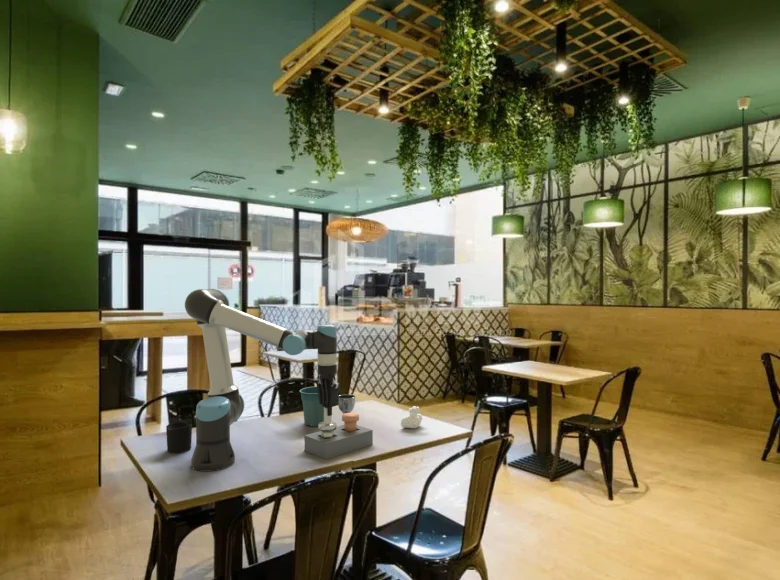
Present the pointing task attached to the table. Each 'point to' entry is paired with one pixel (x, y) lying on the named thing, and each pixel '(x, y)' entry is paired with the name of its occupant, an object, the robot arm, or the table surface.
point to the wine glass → (346, 403)
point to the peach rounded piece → (350, 421)
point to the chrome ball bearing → (327, 430)
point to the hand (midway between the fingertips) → (327, 423)
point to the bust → (412, 418)
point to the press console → (338, 442)
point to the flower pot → (311, 406)
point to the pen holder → (179, 437)
